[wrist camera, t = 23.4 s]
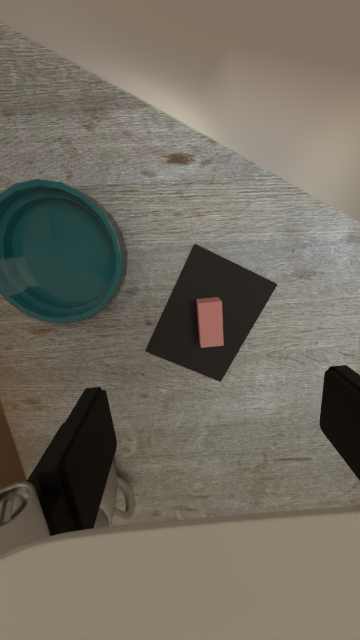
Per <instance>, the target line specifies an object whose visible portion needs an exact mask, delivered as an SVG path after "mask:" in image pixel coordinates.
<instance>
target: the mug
mask: <svg viewBox="0 0 360 640" xmlns="http://www.w3.org/2000/svg"><path fill="white" fill-rule="evenodd" d="M117 486H119V487H120V489H121V490H122V492H123V493H124V496H125V500H126V510H125V512H124V511H122V510H120V509H118V508H116V507H115V502H116V493H117ZM134 511H135V499H134V494H133V490H132V487H131V485H130V484H129V483H128V482H126V481H125V480H124V479H122V478H121V477H119V476H117V474H116V468H115V464H114V458H113V462H112V465H111V469H110V472H109V476H108V479H107V483H106V486H105V490H104V493H103V497H102V500H101V504H100V507H99V511H98V514H97V518H96V521H95V525H94V528H102V527H110V525H111V523H113V524H116V525H119V526H121V525H127V524H128V523H129V522H130V520H131V519H132V517H133V515H134Z"/></svg>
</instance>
